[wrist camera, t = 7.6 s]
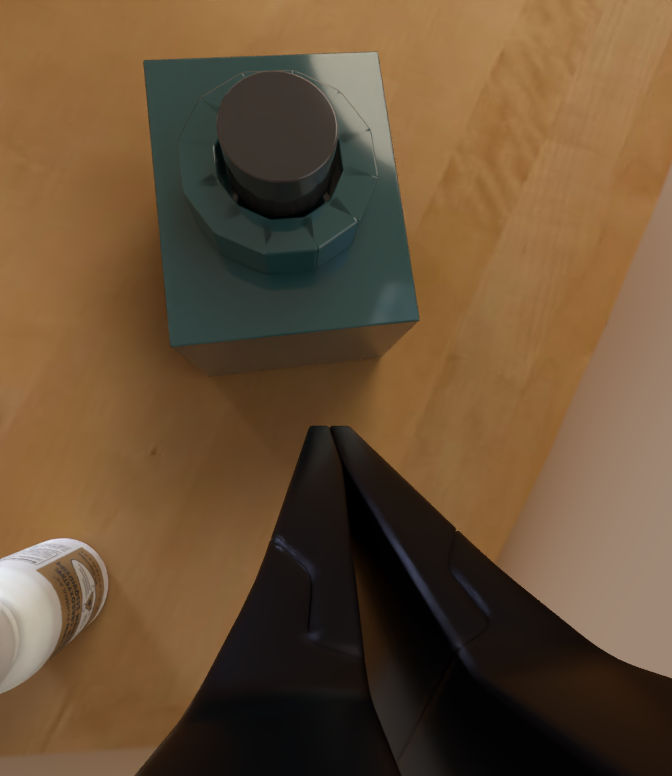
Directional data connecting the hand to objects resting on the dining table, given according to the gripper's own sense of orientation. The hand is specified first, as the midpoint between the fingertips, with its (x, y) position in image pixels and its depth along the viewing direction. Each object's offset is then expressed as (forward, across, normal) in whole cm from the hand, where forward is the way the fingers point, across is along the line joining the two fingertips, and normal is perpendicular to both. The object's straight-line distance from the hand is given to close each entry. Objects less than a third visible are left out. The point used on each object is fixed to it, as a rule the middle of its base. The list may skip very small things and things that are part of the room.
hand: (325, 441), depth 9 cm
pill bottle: (+7, +10, +15) cm, 19 cm away
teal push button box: (+16, 0, +2) cm, 16 cm away
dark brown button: (+10, +1, -4) cm, 11 cm away
